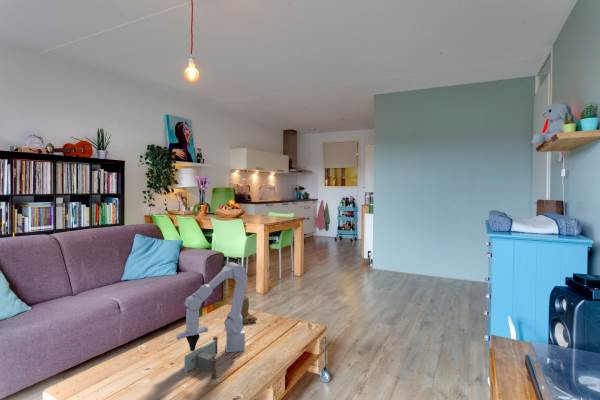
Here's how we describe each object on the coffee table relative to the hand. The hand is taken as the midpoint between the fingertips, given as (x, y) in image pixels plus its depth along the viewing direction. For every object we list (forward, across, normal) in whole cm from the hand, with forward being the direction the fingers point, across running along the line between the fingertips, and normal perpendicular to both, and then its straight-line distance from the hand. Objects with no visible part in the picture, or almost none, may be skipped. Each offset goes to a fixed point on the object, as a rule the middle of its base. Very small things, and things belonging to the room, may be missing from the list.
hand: (192, 350), depth 154 cm
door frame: (+5, -7, +9) cm, 13 cm away
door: (+5, -3, +4) cm, 7 cm away
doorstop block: (+6, -2, +9) cm, 11 cm away
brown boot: (+6, -44, -28) cm, 52 cm away
